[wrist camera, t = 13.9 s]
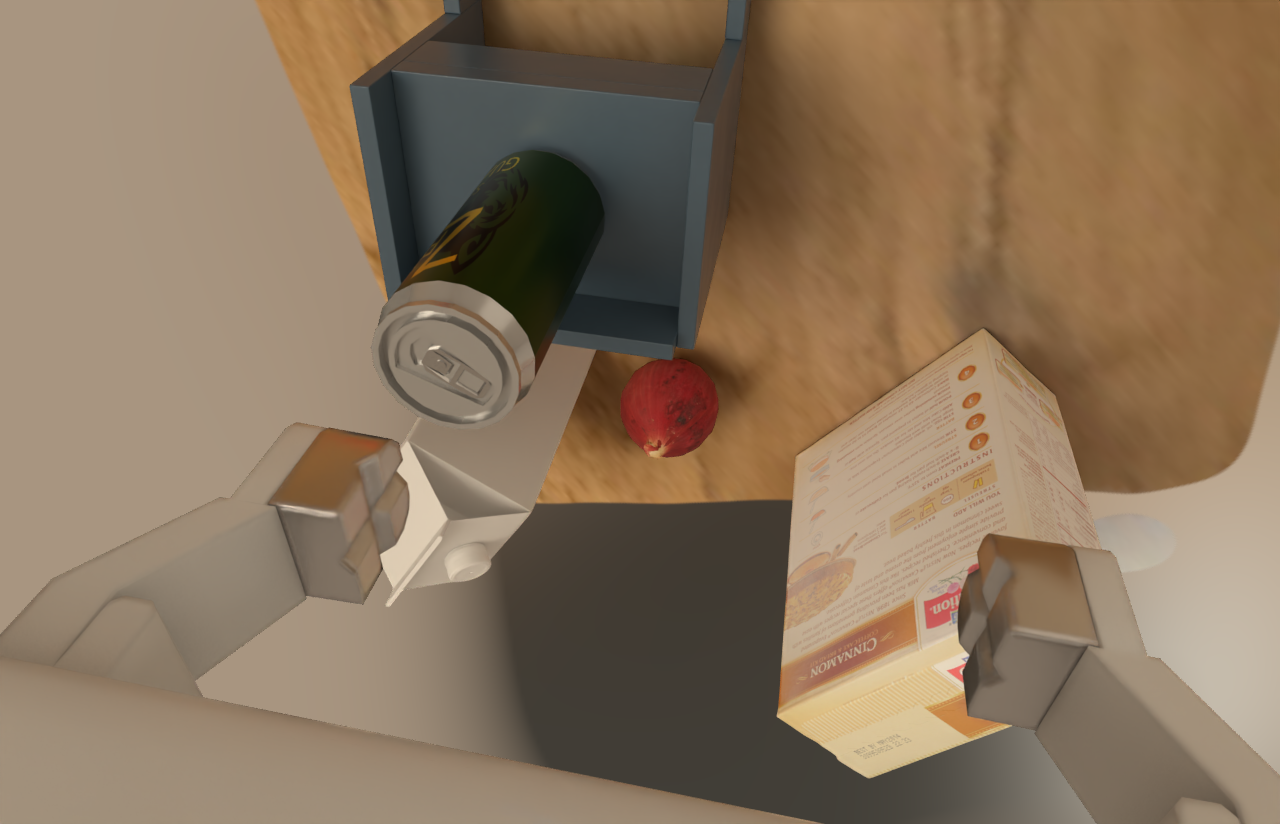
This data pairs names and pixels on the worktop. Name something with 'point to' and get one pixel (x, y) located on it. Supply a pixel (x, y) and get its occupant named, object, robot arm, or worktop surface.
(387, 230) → the rack
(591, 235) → the green drink can
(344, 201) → the worktop surface
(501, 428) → the milk carton
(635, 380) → the onion
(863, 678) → the coffeecake box
